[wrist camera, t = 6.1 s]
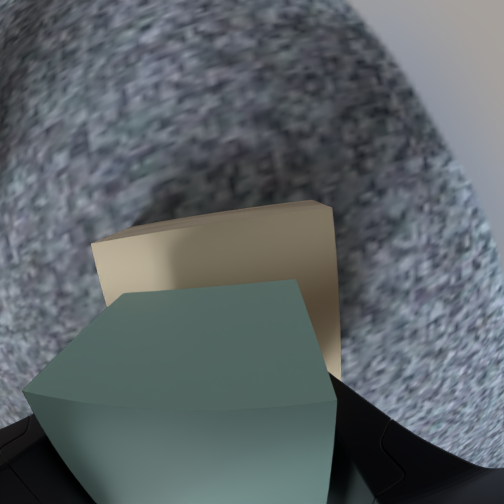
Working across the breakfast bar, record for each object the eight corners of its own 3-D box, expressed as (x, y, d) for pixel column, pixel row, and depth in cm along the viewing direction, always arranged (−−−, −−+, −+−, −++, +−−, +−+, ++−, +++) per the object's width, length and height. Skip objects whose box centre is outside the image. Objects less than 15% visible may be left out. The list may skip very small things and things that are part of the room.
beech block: (323, 359, 15) (340, 410, 11) (171, 374, 15) (150, 424, 11) (310, 199, 13) (332, 207, 9) (133, 225, 14) (91, 243, 10)
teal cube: (301, 415, 10) (320, 539, 5) (161, 419, 10) (121, 530, 5) (295, 278, 8) (337, 400, 4) (123, 292, 9) (21, 390, 4)
